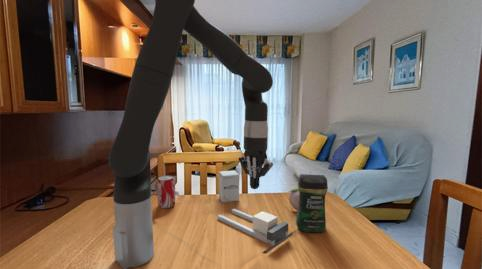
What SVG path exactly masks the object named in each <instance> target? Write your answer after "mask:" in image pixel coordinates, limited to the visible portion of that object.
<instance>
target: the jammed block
mask: <svg viewBox="0 0 482 269" xmlns="http://www.w3.org/2000/svg"><path fill="white" fill-rule="evenodd" d="M252 216H253V222H252V229H253V230H255V231H257V232H259V233H261V234H264V235H266V236H267V231H268V230H269V229H271V228H272V227H274V226H276V225H277V224H278V216H276V215H273V214H271V213H268V212H266V211H260V212H259V213H256V214H254V215H252Z"/></svg>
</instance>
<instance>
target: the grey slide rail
mask: <svg viewBox="0 0 482 269" xmlns="http://www.w3.org/2000/svg"><path fill="white" fill-rule="evenodd" d="M231 214H233V215H236V216H238V217H240V218H243V219H244V220H247V221H250V222H252V223H253V216H254V215H251V214H248V213H245V212H243V211H241V210H239V209H236V208H232V209H231ZM217 220H218V221H220V222H223V223H224V224H226V225H229V226H231V227H232V228H235V229H236V230H238V231H240V232H241V231H242V232H243V233H245V234H247V235H249V236H252V237H253V238H256V239H258V240H260V241H262V242H264V243H266V244H268V245H270V247H268V248H266V249H265V250H263V253H264V254H267V253H270V251H272V250H273V249H275V248H276V247H278V246H280V244H283V242H284V241H286V240H288V239H289V238H291V237H292V236H293V235H294V231H291V232H290V233H289V223H288V222H286V221H281V222H279V223H277V225H276V226H274V227H272V228H271V229H269V230H268V231H267V236H266V235H264V234H261V233H259V232H257V231H255V230H253V228H250V227H248V226H246V225H244V224H243V223H239V222H237V221H235V220H233V219H230V218H228V217H226V216H224V215H222V214H218V215H217Z"/></svg>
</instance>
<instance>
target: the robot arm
mask: <svg viewBox="0 0 482 269" xmlns="http://www.w3.org/2000/svg"><path fill="white" fill-rule="evenodd" d="M154 2H155V4H154V9H153V15H152V19H151V23H150V26H149V29H148V31H147V33H146V36H145V38H144V40H143V43H142V45H141V47H140V50H139V51H138V52H139V53H138V55H137V58H136V60H135V64H134V67H133V70H132V75H131V77H130V83H129V87H128V92H127V97H126V101H125V106H124V113H123V116H122V121H121V123H120V127H119V129H118V131H117V135H116V136H115V139H114V141H113V144H112V145H111V148H110V150H109V153H108V158H107V159H108V165H109V167H110V169H111V171H112V172H113V173H114V183H113V192H112V196H113V209H114V222H115V223H114V224H115V226H113V227H112V234H113V235H112V236H113V249H114V260H115V261H116V263H117V264H118V265H119V266H120V267H121V268H122V269H129V268H136V267H139V266H143V265H145V264H147V263H148V262H149V261H151V260H152V259H153V258H154V255H155V249H154V248H155V245H154V229H153V228H154V227H153V226H154V224H153V208H152V205H153V204H152V174H151V170H152V169H151V154H150V153H151V152H150V144H151V140H152V135H153V131H154V127H155V124H156V122H157V120H158V117H159V115H160V112H161V111H162V108H163V106H164V103H165V101H166V99H167V96H168V92H169V89H170V86H171V84H172V78H173V75H174V72H175V67H176V62H177V59H178V52H179V47H180V42H181V38H182V34H183V31H185V32H186V33H187V34H189V35H190V36H191V37H192V38H193V39H195V40H196V41H197V42H198V43H200V45H201V46H203V47H204V48H205V49H206V50H207V51H208V52H210V54H212V55H213V57H214V58H216V59H217V61H219V62H220V64H221V65H223V66H224V67H225V68H226V70H228V71H229V72H230V73H232V74H233V75H237V76H239V77H241V78H242V81H241V93H242V98H243V102H244V107H245V108H244V109H245V110H244V126H243V150H244V152H243V155H242V156H241V157H238V162H239V163H240V165H241V167H242V170H243V172H244V174H245V175H248V176H249V186H250V189H253V190H257V189H259V187H260V178H261V177H265V176H266V175H267V174H268V172H269V171H270V170H271V168H273V166H274V163H273V162H270V161H269V159H268V154H267V150H268V146H269V145H268V139H269V126H268V111H269V110H268V104H267V103H266V102H265V101H264V100H263V94H264V93H267V92H269V91H270V90H271V89H272V87H273V84H274V81H273V79H274V78H273V76H272V74H271V72H270V71H269V70H268V68H266V67H265V66H264V65H263V64H261V62H258V61H257V60H256V59H254V58H253V57H251V56H250V55H248V54H247V52H246V51H244V49H243V48H242V47H241V46H240V45H239V43H238V42H236V41H235V40H234V39H233V37H231V36H229V35H228V34H227V33H225V31H223V30H221V29H220V28H218V27H217V26H215V25H213V24H212V23H211V22H210V21H208V20H207V19H206V18H205V17H204V16H203V15H202V14H201V13H200V12H199V11H198V9H197V8H196V7H195V2H196V0H154Z"/></svg>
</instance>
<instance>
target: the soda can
mask: <svg viewBox="0 0 482 269" xmlns="http://www.w3.org/2000/svg"><path fill="white" fill-rule="evenodd" d="M157 178H158V180H157V181H156V191H157V192H156V194H157V205H158V207H159V208H162V209H170V208H172V207H174V206H175V205H176V182H175V179H174V176H173V175H161V176H159V177H157Z"/></svg>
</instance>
